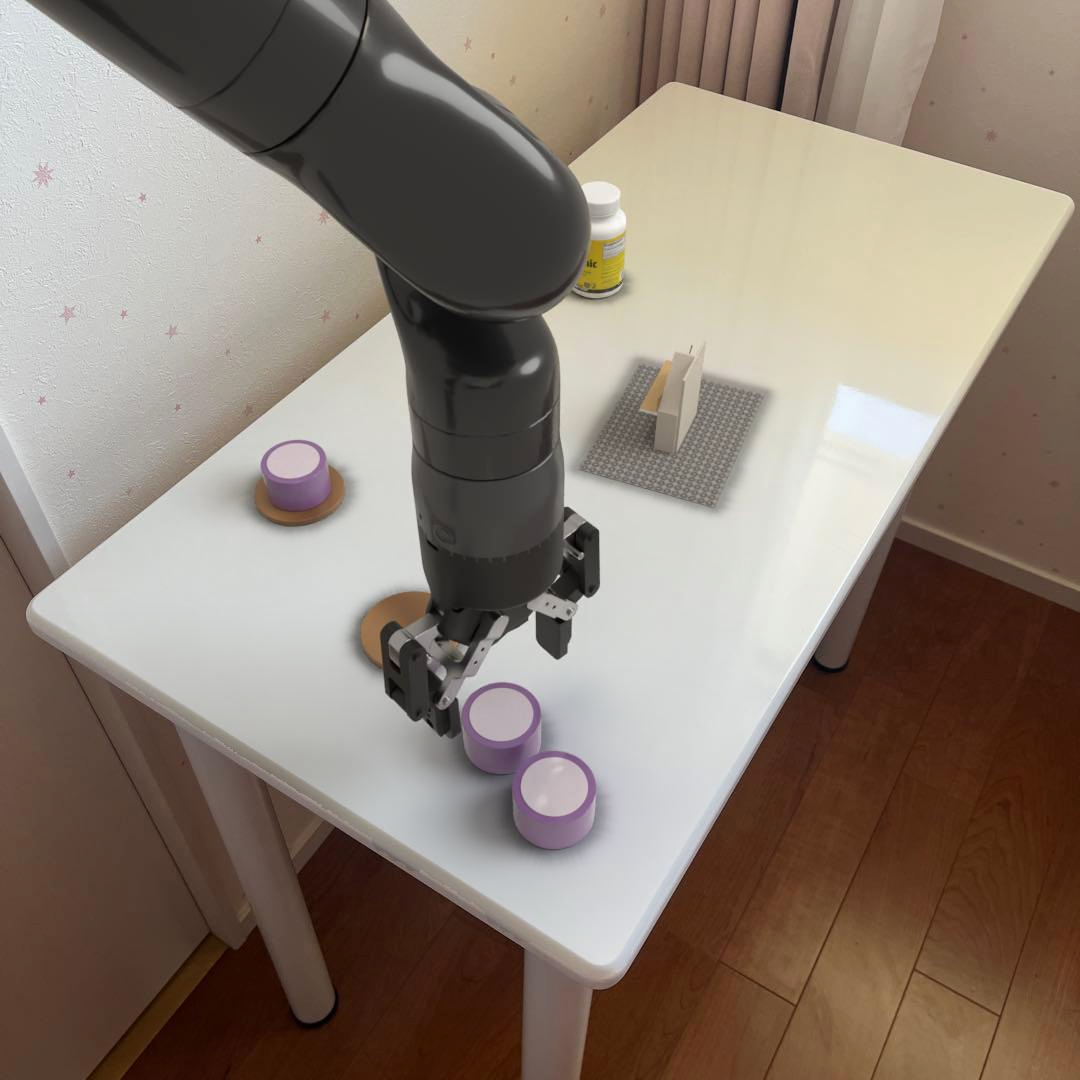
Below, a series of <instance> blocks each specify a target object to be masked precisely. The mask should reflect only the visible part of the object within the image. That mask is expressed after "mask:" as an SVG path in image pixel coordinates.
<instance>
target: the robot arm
mask: <svg viewBox="0 0 1080 1080" xmlns="http://www.w3.org/2000/svg"><path fill="white" fill-rule="evenodd" d="M24 1H25V2H26V3H27V4H29V5H31V6H32V7H33V8H34V9H36V10H37V11H39V12H40V13H42V14H43V15H44V16H46V17H47V18H49V19H50V20H51V21H53V22H54V23H55V24H57V25H58V26H59V27H61V28H63V30H65V31H66V32H68V33H69V34H70V35H72V36H74V37H75V38H76V39H77V40H79V41H81V43H82V44H85V45H86V46H88V47H89V48H90V49H92V50H93V51H94V52H96V53H97V54H98V55H100V56H101V57H103V58H104V59H105V60H107V61H108V62H110V63H111V64H112V65H114V66H116V67H117V68H118V69H119V70H121V71H123V72H124V73H125V74H127V75H128V76H130V77H131V78H132V79H134V80H135V81H137V82H138V83H140V84H141V85H142V86H143V87H145V88H147V89H148V90H150V92H152V93H154V94H155V95H156V96H158V97H159V98H161V99H162V100H163V101H165V102H167V103H168V104H169V105H171V106H172V107H174V108H175V109H177V110H178V111H180V112H181V113H182V114H184V115H185V116H187V117H189V118H190V119H192V120H193V121H194V122H195V123H198V124H199V125H200V126H201V127H203V128H204V129H206V130H207V131H209V132H210V133H212V135H215V136H216V137H218V138H219V139H220V140H222V141H224V142H225V143H226V144H228V145H230V146H231V147H232V148H234V149H236V150H238V151H239V152H240V153H242V155H245V156H246V157H248V158H250V159H251V160H253V161H254V162H255V163H257V164H259V165H260V166H263V167H264V168H266V169H268V170H269V171H271V172H273V173H275V174H277V175H278V176H280V177H281V178H283V179H284V180H286V181H287V182H289V183H290V184H291V185H293V186H294V187H296V188H297V189H298V190H299V191H301V192H302V193H304V194H305V195H306V196H308V198H309V199H311V200H312V201H313V202H314V203H316V204H317V205H318V206H319V207H320V208H322V209H323V210H324V211H325V212H326V213H327V214H328V215H329V216H330V217H331V218H332V219H334V220H335V221H336V222H337V223H338V224H339V225H340V226H341V227H342V228H344V229H345V230H346V231H347V232H348V233H349V234H351V236H353V238H355V239H356V240H357V241H359V243H360V244H361V245H363V246H364V247H365V248H367V249H368V250H369V251H370V252H371V253H372V254H373V255H374V258H375V259H374V260H375V262H376V267H377V270H378V274H379V276H380V280H381V284H382V287H383V291H384V294H385V298H386V301H387V304H388V307H389V311H390V314H391V317H392V321H393V323H394V327H395V330H396V333H397V336H398V339H399V343H400V347H401V351H402V355H403V361H404V364H405V365H404V366H405V386H406V387H405V388H406V397H407V405H408V416H409V422H410V430H411V443H412V446H411V459H410V460H411V461H410V462H411V463H410V464H411V465H410V472H411V473H410V474H411V484H412V485H411V486H412V493H413V502H414V506H415V507H414V509H415V516H416V525H417V533H418V541H419V549H420V557H421V564H422V570H423V574H424V577H425V579H426V583H427V586H428V589H429V593H431V594H430V599H429V602H428V604H427V607H426V611H425V616H424V617H422V618H420V619H419V620H417V621H415V622H414V623H412V624H410V625H409V626H407V627H406V628H403V627H402V626H401V625H400V624H399V623H398V622H397V621H391V622H389V623H387V624H386V625H385V626H384V627H383V628H382V630H381V632H380V643H381V653H382V664H383V668H382V673H383V683H384V692H385V695H387V696H388V698H389V699H390V700H393V701H394V703H395V704H397V706H398V707H399V708H400V709H401V710H403V712H404V713H405V714H406V716H407V717H408V718H409V719H410V720H411V721H412V722H415V723H416V722H419V721H421V720H423V721H424V722H425V723H426V724H427V725H428V726H429V728H431V729H432V730H433V731H434V732H435V733H436V734H437V735H438V736H439V737H440V738H443V736H446V737H447V738H448V739H449V740H453V739H454V738H455V737H457V736H458V735H460V734H461V733H462V722H461V714H460V705H459V704H460V703H459V699H458V697H457V696H458V694H459V691H460V690H461V688H462V686H463V684H464V682H465V680H466V679H467V678H473V677H475V676H476V675H477V674H478V672H479V670H480V668H481V666H482V665H483V662H484V661H485V659H486V657H487V655H488V653H489V651H490V650H491V647H493V646H494V645H496V644H498V642H500V641H501V639H503V638H504V637H505V636H506V635H507V634H508V633H510V632H512V631H514V630H516V629H518V628H520V627H521V626H523V625H524V624H526V623H527V622H528V621H529V616H531V615H532V614H533V612H535V640H536V642H537V644H538V645H539V646H540V647H541V648H542V649H543V650H544V651H545V652H547V653H548V654H549V655H550V656H551V657H552V658H553V659H555V660H557V661H559V660H561V659H562V658H563V657H565V656H567V654H568V653H569V651H568V650H569V644H570V641H571V639H572V636H573V635H572V634H573V633H572V630H573V617H574V616H575V615H576V614H577V613H578V610H579V605H578V604H577V603H578V601H580V600H581V599H582V597H583V596H584V597H585V598H587V599H590V598H592V597H594V596H595V595H596V594H597V592H598V591H599V590H600V588H601V587H600V586H601V561H600V560H601V558H600V555H601V554H600V553H601V551H600V530H599V528H597V527H596V526H594V525H593V524H592V523H591V522H589V521H588V520H587V519H585V518H584V517H583V516H581V515H580V514H579V513H577V511H575V510H573V508H571V507H569V506H565V482H566V481H565V479H566V478H565V476H566V474H565V471H566V470H565V456H564V451H563V444H562V438H561V366H560V365H561V364H560V355H559V350H558V346H557V343H556V342H557V341H556V340H555V337H554V335H553V332H552V331H551V329H550V327H549V324H548V323H547V321H546V320H545V317H544V316H543V315H544V314H545V313H547V312H549V311H551V310H552V309H554V308H555V307H557V306H558V305H559V304H560V303H561V302H562V301H563V300H564V299H566V298H567V297H568V295H570V293H571V292H572V291H573V290H572V289H573V288H574V287H575V285H576V284H577V282H578V281H579V279H580V277H581V275H582V273H583V271H584V268H585V266H586V263H587V259H588V256H589V251H590V245H591V236H592V226H591V216H590V211H589V207H588V203H587V200H586V197H585V194H584V192H583V190H582V188H581V186H582V185H581V184H580V181H579V180H578V179H577V177H576V175H575V174H574V172H573V171H572V169H571V168H570V167H569V166H568V165H567V164H566V163H565V162H564V161H563V159H562V158H561V157H559V156H558V155H557V153H555V152H554V151H553V150H552V149H551V148H550V147H549V145H547V144H546V143H545V142H544V141H542V139H541V138H540V137H538V136H537V135H536V134H535V133H534V132H533V131H532V130H531V129H530V128H529V127H528V126H527V125H526V124H525V123H524V122H523V121H522V120H521V119H520V118H519V117H518V116H517V115H515V114H514V112H512V110H510V109H509V108H508V107H507V105H505V104H503V103H502V101H500V100H499V99H498V98H496V97H495V96H494V95H492V94H491V93H489V92H487V91H486V90H484V89H482V88H480V87H477V86H476V85H474V84H471V83H469V82H468V81H467V79H466V80H465V78H463V77H462V76H461V75H460V74H458V73H457V72H456V71H455V70H454V69H453V68H451V67H450V66H449V65H447V63H445V61H443V60H442V59H441V58H439V56H438V55H436V54H435V53H434V52H433V51H432V50H431V48H429V47H428V46H427V45H426V43H424V41H423V40H422V39H421V38H420V37H419V36H418V35H417V34H416V32H415V31H414V30H413V28H412V27H411V26H410V24H408V23H407V21H406V20H405V18H403V16H402V15H401V14H400V13H399V12H398V11H397V10H396V8H394V6H393V5H392V4H391V3H390V2H389V1H388V0H24ZM558 576H559V577H558ZM449 640H452V641H454V642H457V643H459V644H460V645H463V646H465V647H467V648H466V651H465V653H464V654H463V653H462V652H461V651H460V650H459V649H458V647H457V648H456V647H455V646H454V645H452V644H451V642H450V641H449ZM440 663H441V664H440ZM440 665H441V666H442V667H443V668H444V669H445V671H446V674H445V676H444V678H443V680H442V679H441V678H440V677H439V675H437V674H436V673H437V670H438V669H439V668H440Z"/></svg>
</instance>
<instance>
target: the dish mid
mask: <svg viewBox="0 0 1080 1080" xmlns="http://www.w3.org/2000/svg"><path fill="white" fill-rule="evenodd" d="M460 719H461V730H462V738H463V748H464V751H465V753H466V756H467V758H468V759H469V761H470V762H471V763H472V764H473V765H474V766H475V767H477V768H478V769H480V770H481V771H484V772H486V773H489V774H493V775H510V774H514V773H515V774H516V771H517V770H518V768H519V767H520V766H521V765H522V764H523V763H524V762H525V761H526V760H527V759H529V758H530V757H532V756H534V755H536V754H539V753H540V751H541V747H542V709H541V705H540V703H539V701H538V699H537V698H536V696H535V695H534V694H533V693H532V692H531V691H530V690H528V689H527V688H526V687H524V686H521V685H519V684H516V683H513V682H507V681H506V682H505V681H499V682H493V683H489V684H485V685H482V686H481V687H479V688H477V689H476V690H474V691H473V692H472V693H471V694H470V695H469V696H468V698H467V699H466V700H465V702H464V704H463V706H462V710H461V715H460Z"/></svg>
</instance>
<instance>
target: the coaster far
mask: <svg viewBox="0 0 1080 1080" xmlns="http://www.w3.org/2000/svg"><path fill="white" fill-rule="evenodd" d="M328 468H329V474H330V479H331V484H332V487H331V491H330V494H329V495H328V497H327V498H326V499H325V500H324V501H323V502H322V503H321V504H319V505H317V506H316V507H313V508H311V509H308V510H304V511H286V510H282V509H280V508H278V507H276V506H275V505H273V504H272V503H271V502H270V500H269V498H268V496H267V492H266V488H265V484H264V480H263V476H262V477H261V478H260V479H259V480H258V482H257V484H256V486H255V488H254V491H253V492H254V493H253V497H254V498H253V499H254V504H255V507H256V509H257V511H258V512H259V514H260V515H262V517H263V518H265V519H266V520H268V521H270V522H271V523H274V524H278V525H280V526H281V525H282V526H287V527H299V526H306V525H311V524H313V523H316V522H319V521H321V520H324V519H326V518H327V517H329V516H330V515H332V514H333V513H334V512H336V510H338V508H339V507H340V505H341V504H342V502H343V500H344V497H345V492H346V488H345V482H344V479H343V476H342V475H341V473H340V472H339V471H338V470H337V469H336V468H335V467H333V466H331V465H330V464H328Z"/></svg>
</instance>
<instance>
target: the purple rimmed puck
mask: <svg viewBox="0 0 1080 1080" xmlns="http://www.w3.org/2000/svg"><path fill="white" fill-rule="evenodd" d="M596 781H597V780H596V778H595V775H594V773H593V771H592V770H591V768H590V767H589V765H587V763H586V762H585V761H584V760H583V759H581V758H580V757H578V756H576V755H574V754H573V753H570V752H567V751H566V752H565V751H562V750H561V751H560V750H548V751H547V750H546V751H542V752H539V753H538V754H536V755H534V756H532V757H530V758H529V759H527V760H526V761H525V762H524V763H523V764H522V765H521V766H520V767H519V768H518V770H517V771H516V772H515V774H514V776H513V779H512V785H511V791H512V792H511V794H512V795H511V796H512V815H513V822H514V824H515V827H516V829H517V830H518V832H519V833H520V835H521V836H522V837H523V838H524V839H525V840H526V841H527V842H529V843H530V844H532V845H534V846H536V847H539V848H541V849H546V850H562V849H566V848H569V847H572V846H574V845H576V844H578V843H580V842H581V841H582V840H583V839H585V838H586V837H587V835H588V834H589V832H591V829H592V827H593V824H594V821H595V817H596V816H595V814H596V802H597V782H596Z"/></svg>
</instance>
